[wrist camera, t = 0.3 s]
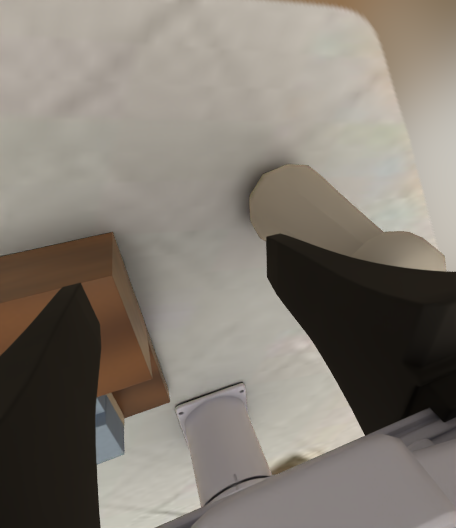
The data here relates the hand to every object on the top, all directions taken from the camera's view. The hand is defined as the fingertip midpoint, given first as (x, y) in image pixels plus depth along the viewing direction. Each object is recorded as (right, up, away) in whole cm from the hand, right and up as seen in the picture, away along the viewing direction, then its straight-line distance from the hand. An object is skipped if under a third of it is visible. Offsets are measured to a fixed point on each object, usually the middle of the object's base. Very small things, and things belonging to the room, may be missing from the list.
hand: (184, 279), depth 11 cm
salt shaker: (+5, +6, +11) cm, 14 cm away
